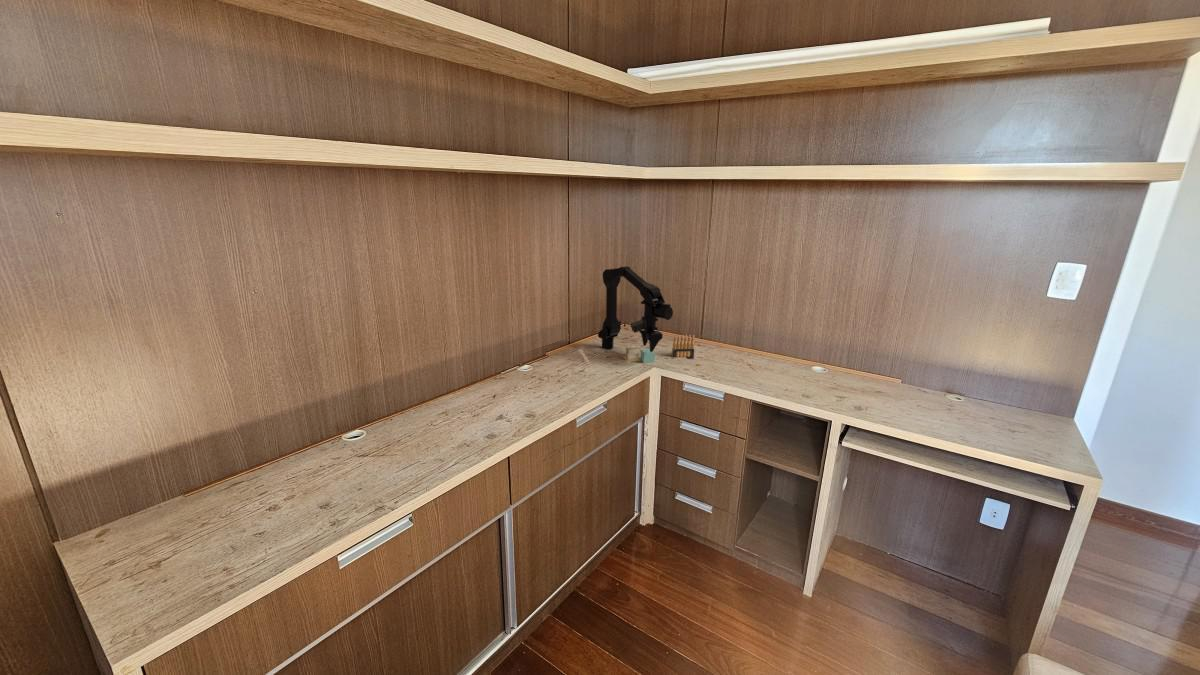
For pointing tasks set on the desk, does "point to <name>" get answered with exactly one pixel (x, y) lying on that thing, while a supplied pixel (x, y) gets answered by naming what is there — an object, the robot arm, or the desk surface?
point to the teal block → (647, 356)
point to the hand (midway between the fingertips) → (647, 348)
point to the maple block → (632, 353)
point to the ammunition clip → (683, 347)
